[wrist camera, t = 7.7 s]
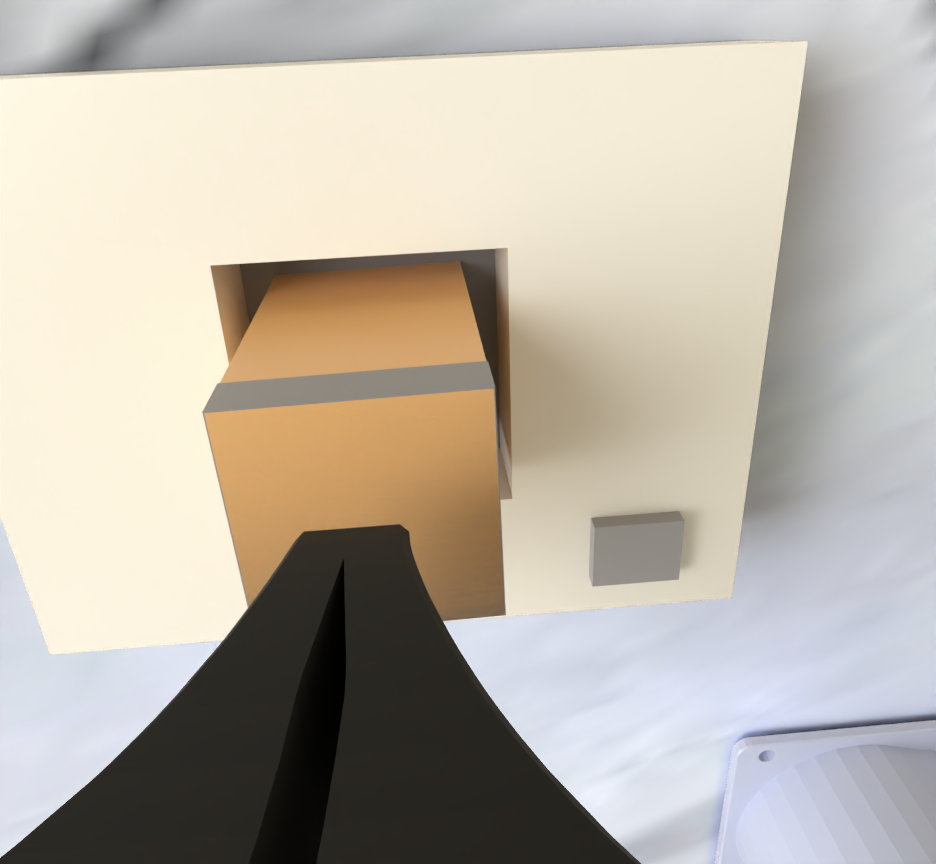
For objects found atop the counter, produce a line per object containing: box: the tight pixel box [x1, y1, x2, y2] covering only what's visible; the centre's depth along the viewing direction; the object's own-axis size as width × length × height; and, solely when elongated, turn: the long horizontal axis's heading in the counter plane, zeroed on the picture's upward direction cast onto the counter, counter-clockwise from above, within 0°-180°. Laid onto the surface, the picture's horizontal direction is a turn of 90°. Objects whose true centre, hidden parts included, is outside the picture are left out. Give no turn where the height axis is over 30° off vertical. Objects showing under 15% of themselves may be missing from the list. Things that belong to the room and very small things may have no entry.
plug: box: [202, 261, 506, 621], centre depth 15 cm, size 4×4×7 cm
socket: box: [0, 40, 808, 655], centre depth 17 cm, size 16×12×3 cm
